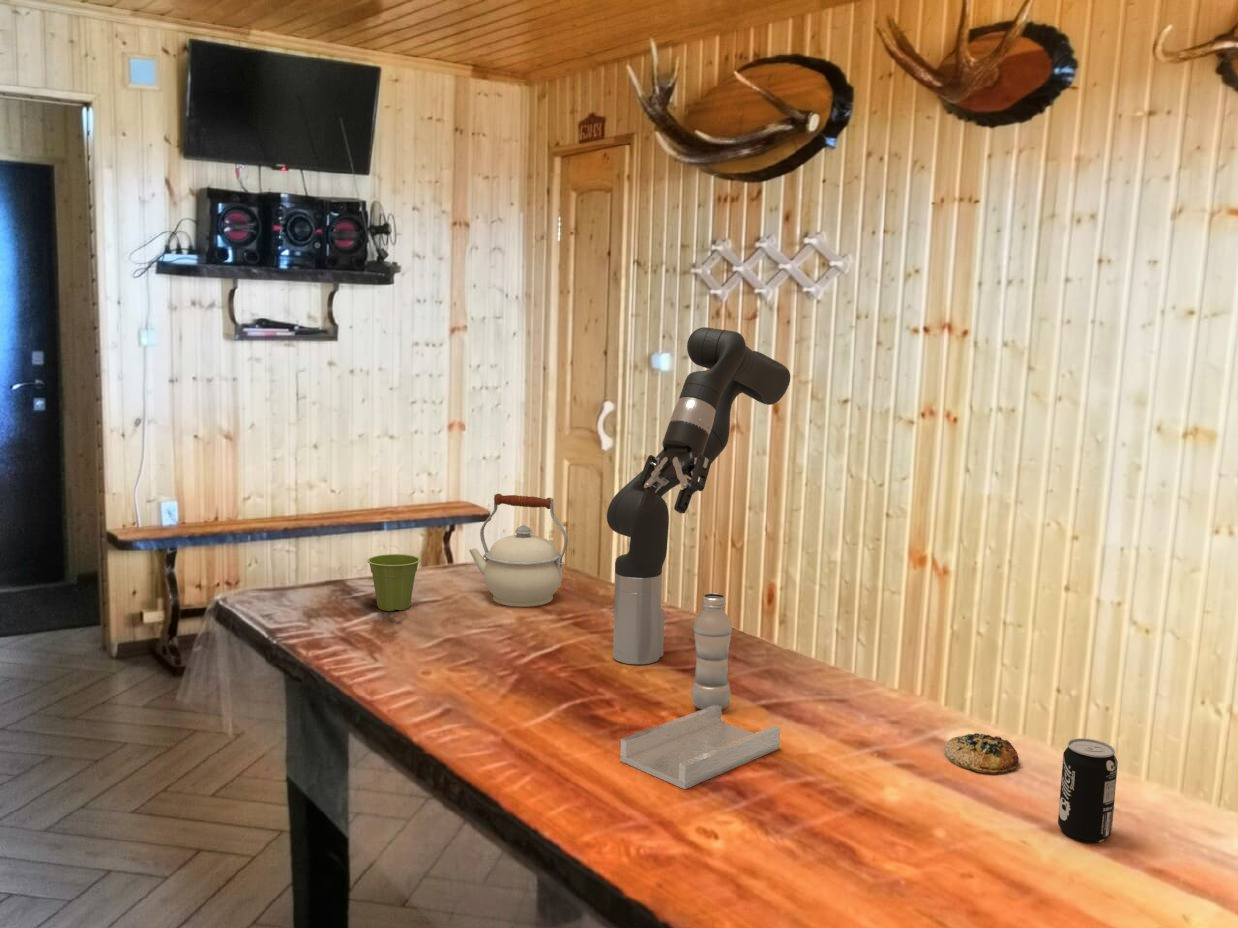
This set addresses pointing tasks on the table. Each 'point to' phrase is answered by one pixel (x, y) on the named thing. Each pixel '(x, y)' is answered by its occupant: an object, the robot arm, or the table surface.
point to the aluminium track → (696, 747)
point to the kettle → (521, 560)
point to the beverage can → (1087, 790)
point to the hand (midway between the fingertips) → (661, 511)
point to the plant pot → (393, 580)
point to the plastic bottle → (712, 654)
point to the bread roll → (982, 753)
